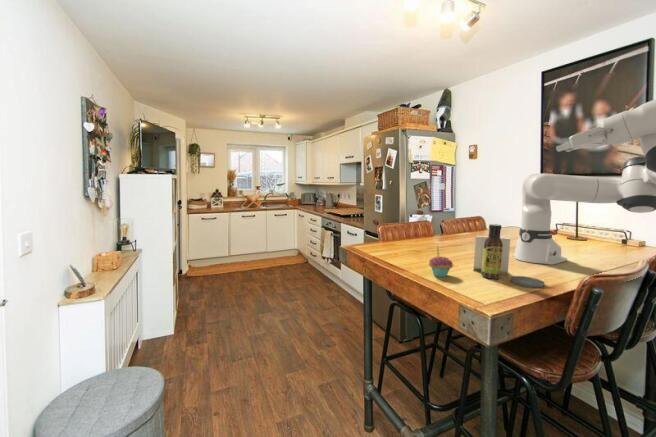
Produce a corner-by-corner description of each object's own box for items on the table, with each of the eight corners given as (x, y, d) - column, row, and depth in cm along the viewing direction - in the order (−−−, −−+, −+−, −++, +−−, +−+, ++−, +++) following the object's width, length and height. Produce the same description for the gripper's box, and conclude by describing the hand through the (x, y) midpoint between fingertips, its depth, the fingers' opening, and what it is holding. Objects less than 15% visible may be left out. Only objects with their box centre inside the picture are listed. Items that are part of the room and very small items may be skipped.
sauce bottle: (484, 279, 118) (487, 225, 115) (479, 274, 124) (482, 223, 121) (502, 280, 117) (506, 226, 114) (496, 275, 123) (500, 223, 120)
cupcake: (439, 279, 117) (440, 247, 115) (423, 273, 125) (424, 243, 123) (456, 276, 120) (458, 245, 119) (440, 271, 128) (442, 241, 127)
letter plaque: (473, 271, 128) (475, 236, 126) (473, 268, 132) (475, 234, 130) (507, 275, 123) (510, 239, 121) (506, 272, 127) (509, 237, 125)
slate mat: (523, 277, 120) (523, 274, 120) (550, 285, 111) (550, 283, 110) (504, 280, 116) (504, 277, 116) (530, 289, 107) (531, 286, 107)
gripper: (612, 139, 88) (554, 158, 99) (624, 141, 101) (572, 158, 112) (604, 117, 89) (548, 139, 99) (617, 122, 102) (566, 141, 112)
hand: (561, 149), depth 106 cm, fingers open, 8 cm apart
